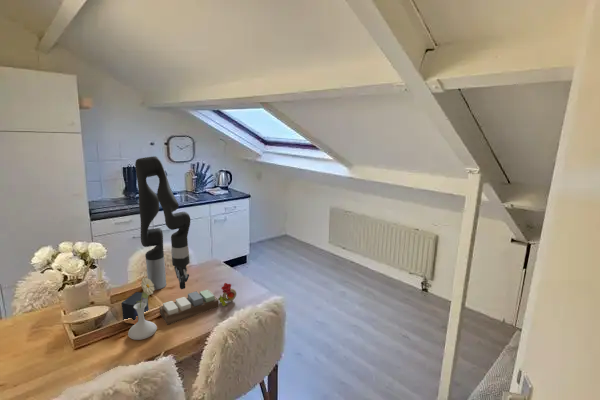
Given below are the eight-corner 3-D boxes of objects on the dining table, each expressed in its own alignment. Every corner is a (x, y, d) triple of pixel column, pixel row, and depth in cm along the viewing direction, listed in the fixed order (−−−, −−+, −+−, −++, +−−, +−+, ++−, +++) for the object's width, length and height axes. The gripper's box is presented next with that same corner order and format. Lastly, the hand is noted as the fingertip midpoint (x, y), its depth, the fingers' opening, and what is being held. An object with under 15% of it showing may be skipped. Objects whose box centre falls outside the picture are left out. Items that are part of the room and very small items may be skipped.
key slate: (188, 302, 166) (187, 293, 165) (196, 299, 169) (196, 291, 168) (194, 309, 160) (194, 300, 159) (203, 306, 163) (202, 297, 162)
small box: (135, 325, 151) (133, 304, 149) (122, 323, 152) (120, 302, 150) (150, 312, 161) (148, 293, 159) (138, 311, 162) (135, 291, 160)
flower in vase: (143, 345, 138) (137, 290, 132) (122, 338, 142) (115, 285, 136) (165, 327, 150) (161, 276, 144) (145, 322, 154) (140, 271, 148)
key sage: (199, 299, 170) (199, 291, 169) (208, 297, 173) (207, 289, 172) (206, 306, 164) (206, 298, 163) (214, 303, 167) (214, 295, 166)
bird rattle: (229, 302, 176) (213, 300, 170) (236, 282, 176) (221, 280, 170) (234, 307, 171) (218, 306, 165) (241, 287, 171) (226, 285, 165)
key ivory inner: (176, 307, 163) (175, 299, 162) (185, 304, 166) (184, 296, 165) (182, 315, 157) (181, 306, 156) (191, 312, 160) (190, 303, 159)
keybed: (160, 314, 160) (159, 306, 159) (209, 298, 175) (209, 291, 174) (167, 325, 152) (166, 317, 151) (218, 307, 167) (218, 299, 166)
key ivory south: (163, 311, 159) (162, 303, 158) (172, 308, 162) (172, 300, 161) (169, 319, 153) (168, 310, 152) (178, 316, 156) (178, 307, 155)
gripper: (167, 251, 157) (169, 285, 162) (177, 261, 147) (179, 296, 152) (183, 248, 162) (185, 280, 166) (193, 257, 152) (195, 291, 156)
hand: (182, 288), depth 159 cm, fingers closed
